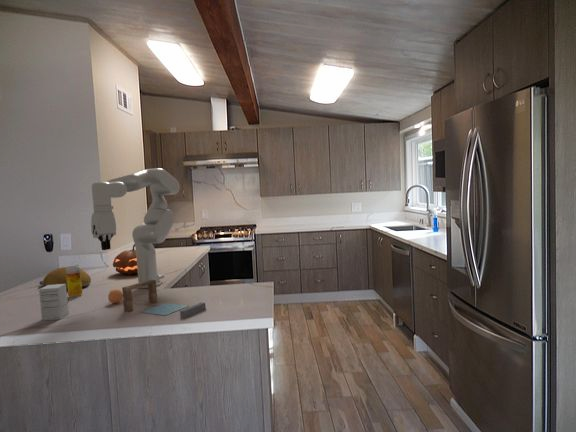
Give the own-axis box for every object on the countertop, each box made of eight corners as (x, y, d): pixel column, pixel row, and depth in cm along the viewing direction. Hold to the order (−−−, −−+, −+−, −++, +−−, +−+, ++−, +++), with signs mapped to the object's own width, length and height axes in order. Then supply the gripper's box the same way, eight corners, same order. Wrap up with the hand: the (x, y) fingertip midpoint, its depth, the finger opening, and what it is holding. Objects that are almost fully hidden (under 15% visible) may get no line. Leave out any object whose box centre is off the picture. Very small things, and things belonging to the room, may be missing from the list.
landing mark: (165, 303, 175) (165, 303, 175) (188, 306, 168) (188, 305, 168) (141, 312, 163) (141, 312, 163) (165, 315, 157) (165, 315, 157)
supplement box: (50, 315, 167) (47, 284, 166) (69, 313, 168) (66, 283, 167) (41, 320, 160) (38, 289, 159) (61, 319, 160) (58, 287, 160)
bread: (67, 292, 208) (65, 273, 207) (37, 286, 229) (35, 268, 228) (102, 284, 222) (100, 266, 222) (71, 279, 243) (69, 262, 243)
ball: (117, 300, 185) (116, 287, 184) (126, 301, 182) (125, 288, 181) (105, 304, 179) (104, 290, 179) (114, 305, 176) (113, 291, 176)
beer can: (76, 298, 194) (73, 266, 193) (65, 298, 195) (62, 267, 195) (85, 294, 200) (82, 264, 199) (74, 294, 201) (71, 264, 200)
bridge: (124, 311, 167) (122, 287, 166) (152, 301, 180) (150, 279, 179) (129, 311, 165) (127, 288, 165) (157, 301, 178) (155, 280, 178)
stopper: (201, 308, 164) (201, 302, 164) (205, 308, 163) (205, 302, 163) (180, 317, 154) (180, 310, 154) (184, 317, 153) (183, 311, 153)
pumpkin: (104, 277, 241) (101, 246, 240) (127, 269, 265) (125, 240, 264) (143, 277, 237) (141, 244, 235) (163, 268, 261) (161, 239, 260)
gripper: (111, 208, 194) (115, 246, 195) (82, 210, 181) (85, 252, 182) (122, 208, 191) (125, 247, 192) (92, 210, 177) (96, 252, 178)
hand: (106, 249), depth 187 cm, fingers closed
